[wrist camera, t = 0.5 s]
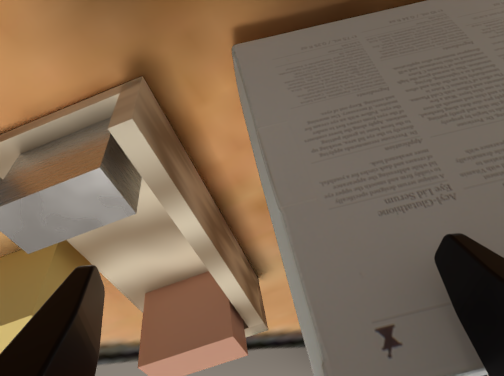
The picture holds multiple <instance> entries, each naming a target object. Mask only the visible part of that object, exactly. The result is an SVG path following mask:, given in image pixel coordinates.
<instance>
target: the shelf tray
mask: <svg viewBox="0 0 504 376" xmlns="http://www.w3.org/2000/svg"><path fill="white" fill-rule="evenodd" d="M110 117H111V120H110V123H109V126H108V130H109V131H110V133H111V134H112V136H113V137H114V138H115V140H116V141H117V143H118V144H119V145H120V147H121V148H122V150H123V151H124V153H125V154H126V155H127V157H128V158H129V160H130V161H131V162H132V164H133V165H134V167H135V168H136V169H137V171H138V172H139V174H140V175H141V176H142V180H141V187H140V193H139V200H138V206H137V213H136V214H134V215H131V216H129V217H126V218H123V219H121V220H118V221H115V222H113V223H110V224H107V225H105V226H102V227H99V228H97V229H94V230H91V231H89V232H86V233H83V234H81V235H78V236H75V237H73V238H70V239H67V241H68V242H69V243H70V244H71V245H72V246H73V247H74V248H75V249H76V250H77V251H78V252H79V253H80V254H81V255H83V256H84V257H85V258H86V259H87V260H88V261H89V262H90V263H91V264H92V265H95V266H96V267H97V269H98V271H99V272H100V273H101V274H103V275H104V276H105V277H106V278H107V279H108V280H109V281H110V282H111V283H112V284H113V285H114V286H115V287H116V288H117V289H118V290H119V291H120V292H121V293H123V294H124V295H125V296H126V297H127V298H128V299H129V300H130V301H131V302H132V303H133V304H134V305H135V306H136V307H137V308H138V309H139V310H140V311H141V312H143V310H144V300H145V293H148V292H151V291H153V290H156V289H159V288H162V287H165V286H168V285H171V284H174V283H176V282H179V281H182V280H185V279H188V278H191V277H194V276H196V275H199V274H202V273H205V272H208V271H209V272H210V273H211V275H212V276H213V278H214V279H215V281H216V282H217V283H218V285H219V286H220V288H221V289H222V290H223V292H224V293H225V295H226V296H227V297H228V299H229V300H230V302H231V303H232V304H233V306H234V307H235V309H236V310H237V311H238V313H239V314H240V316H241V317H242V318H243V323H244V330H245V337H249V336H252V335H255V334H258V333H261V332H264V331H267V330H268V326H267V321H266V316H265V311H264V306H263V301H262V296H261V291H260V286H259V280H258V277H257V276H256V274H255V272H254V270H253V269H252V267H251V265H250V263H249V262H248V260H247V258H246V256H245V255H244V253H243V251H242V249H241V248H240V246H239V244H238V242H237V241H236V239H235V237H234V235H233V234H232V232H231V230H230V228H229V227H228V225H227V223H226V221H225V220H224V218H223V216H222V214H221V213H220V211H219V209H218V207H217V206H216V204H215V202H214V200H213V199H212V197H211V195H210V193H209V192H208V190H207V188H206V186H205V185H204V183H203V181H202V179H201V178H200V176H199V174H198V172H197V171H196V169H195V167H194V165H193V164H192V162H191V160H190V158H189V157H188V155H187V153H186V151H185V150H184V148H183V146H182V144H181V143H180V141H179V139H178V137H177V135H176V134H175V132H174V130H173V128H172V127H171V125H170V123H169V121H168V120H167V118H166V116H165V114H164V113H163V111H162V109H161V107H160V106H159V104H158V102H157V100H156V99H155V97H154V95H153V93H152V92H151V90H150V88H149V86H148V85H147V83H146V81H145V79H144V78H143V76H141V77H139V78H136V79H134V80H132V81H129V82H127V83H124V84H122V85H120V86H117V87H115V88H112V89H110V90H107V91H105V92H103V93H100V94H98V95H95V96H93V97H90V98H88V99H86V100H83V101H81V102H78V103H76V104H74V105H71V106H69V107H66V108H64V109H61V110H59V111H57V112H54V113H52V114H49V115H47V116H45V117H42V118H40V119H37V120H35V121H32V122H30V123H28V124H25V125H23V126H20V127H18V128H15V129H13V130H11V131H8V132H6V133H3V134H1V135H0V178H1V179H4V177H5V176H6V174H7V173H8V171H9V170H10V168H11V167H12V165H13V164H14V162H15V161H16V159H17V158H18V156H19V155H20V154H21V153H24V152H26V151H28V150H31V149H33V148H36V147H38V146H41V145H43V144H46V143H48V142H51V141H53V140H56V139H58V138H61V137H63V136H66V135H68V134H70V133H73V132H75V131H78V130H80V129H83V128H85V127H88V126H90V125H93V124H95V123H98V122H100V121H103V120H105V119H108V118H110Z"/></svg>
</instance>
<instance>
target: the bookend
mask: <svg viewBox="0 0 504 376" xmlns="http://www.w3.org/2000/svg"><path fill="white" fill-rule="evenodd" d="M110 120H111V117H110V118H108V119H105V120H103V121H100V122H98V123H95V124H93V125H90V126H88V127H85V128H83V129H80V130H78V131H75V132H73V133H70V134H68V135H66V136H63V137H61V138H58V139H56V140H53V141H51V142H48V143H46V144H43V145H41V146H38V147H36V148H33V149H31V150H28V151H26V152H24V153H21V154H20V155H19V156H18V158H17V159H16V161H15V162H14V164H13V165H12V167H11V168H10V170H9V171H8V173H7V174H6V176H5V177H4V179H3V180H2V182H1V183H0V231H1V232H2V233H3V234H5V235H6V236H7V237H8V238H9V239H11V240H12V241H13V242H14V243H15V244H17V245H18V246H19V247H20V248H21V249H23V250H24V251H25V252H26V253H28V254H30V253H32V252H35V251H38V250H40V249H43V248H46V247H48V246H51V245H54V244H56V243H59V242H62V241H64V240H67V239H70V238H73V237H75V236H78V235H81V234H83V233H86V232H89V231H91V230H94V229H97V228H99V227H102V226H105V225H107V224H110V223H113V222H115V221H118V220H121V219H123V218H126V217H129V216H131V215H134V214H136V213H137V206H138V200H139V193H140V187H141V180H142V176H141V175H140V174H139V172H138V171H137V169H136V168H135V167H134V165H133V164H132V162H131V161H130V160H129V158H128V157H127V155H126V154H125V153H124V151H123V150H122V148H121V147H120V145H119V144H118V143H117V141H116V140H115V138H114V137H113V136H112V134H111V133H110V131H109V130H108V126H109V123H110Z"/></svg>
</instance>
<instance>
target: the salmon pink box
mask: <svg viewBox="0 0 504 376" xmlns="http://www.w3.org/2000/svg"><path fill="white" fill-rule="evenodd" d="M247 355H248V351H247V344H246V337H245V330H244V323H243V318H242V317H241V316H240V314H239V313H238V311H237V310H236V309H235V307H234V306H233V304H232V303H231V302H230V300H229V299H228V297H227V296H226V295H225V293H224V292H223V290H222V289H221V288H220V286H219V285H218V283H217V282H216V281H215V279H214V278H213V276H212V275H211V273H210V272H209V271H208V272H205V273H202V274H199V275H196V276H194V277H191V278H188V279H185V280H182V281H179V282H176V283H174V284H171V285H168V286H165V287H162V288H159V289H156V290H153V291H151V292H148V293H145V300H144V310H143V320H142V330H141V340H140V350H139V360H138V368H139V369H140V370H142V371H143V372H144V373H146V374H147V375H148V376H185V375H188V374H191V373H194V372H197V371H200V370H204V369H207V368H210V367H213V366H216V365H219V364H222V363H225V362H228V361H232V360H235V359H238V358H241V357H244V356H247Z"/></svg>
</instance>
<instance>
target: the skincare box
mask: <svg viewBox="0 0 504 376" xmlns="http://www.w3.org/2000/svg"><path fill="white" fill-rule="evenodd" d="M232 57H233V63H234V69H235V76H236V82H237V87H238V92H239V97H240V102H241V106H242V110H243V114H244V118H245V122H246V126H247V130H248V133H249V137H250V141H251V145H252V149H253V153H254V157H255V161H256V164H257V168H258V172H259V176H260V180H261V183H262V187H263V191H264V195H265V198H266V202H267V206H268V209H269V213H270V217H271V220H272V224H273V228H274V231H275V235H276V239H277V242H278V246H279V250H280V253H281V257H282V261H283V264H284V268H285V272H286V276H287V279H288V283H289V287H290V291H291V294H292V298H293V302H294V305H295V309H296V313H297V317H298V320H299V324H300V328H301V331H302V335H303V339H304V342H305V346H306V350H307V353H308V357H309V361H310V364H311V367H312V371H313V375H314V376H484V375H488V373H487V371H486V369H485V367H484V366H483V364H482V362H481V360H480V358H479V356H478V354H477V352H476V351H475V349H474V347H473V345H472V343H471V341H470V339H469V337H468V335H467V334H466V332H465V330H464V328H463V326H462V324H461V322H460V320H459V318H458V316H457V314H456V312H455V310H454V308H453V305H452V303H451V300H450V298H449V296H448V293H447V291H446V288H445V286H444V283H443V281H442V279H441V276H440V274H439V271H438V269H437V266H436V264H435V260H434V256H435V253H436V251H437V249H438V247H439V245H440V243H441V241H442V239H443V237H444V236H445V235H446V234H453V233H462V234H464V235H466V236H468V237H469V238H471V239H473V240H475V241H476V242H478V243H480V244H481V245H483V246H485V247H486V248H488V249H490V250H492V251H493V252H495V253H497V254H498V255H500V256H502V257H503V258H504V0H427V1H422V2H418V3H413V4H409V5H405V6H400V7H396V8H392V9H387V10H383V11H379V12H374V13H370V14H366V15H361V16H357V17H353V18H348V19H344V20H340V21H335V22H331V23H327V24H322V25H318V26H314V27H310V28H305V29H301V30H297V31H292V32H288V33H284V34H280V35H275V36H271V37H266V38H262V39H258V40H253V41H249V42H244V43H240V44H236V45H234V46H233V47H232Z"/></svg>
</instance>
